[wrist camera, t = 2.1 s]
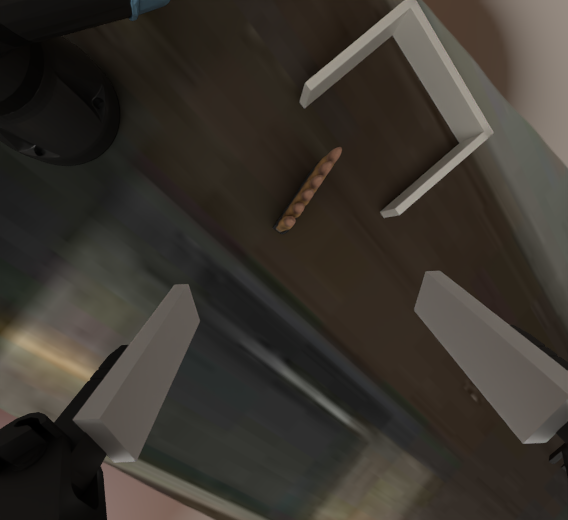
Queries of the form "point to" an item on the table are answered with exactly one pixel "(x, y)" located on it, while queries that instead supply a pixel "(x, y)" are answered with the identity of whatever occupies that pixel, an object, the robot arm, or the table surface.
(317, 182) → the ammunition clip
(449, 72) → the box
